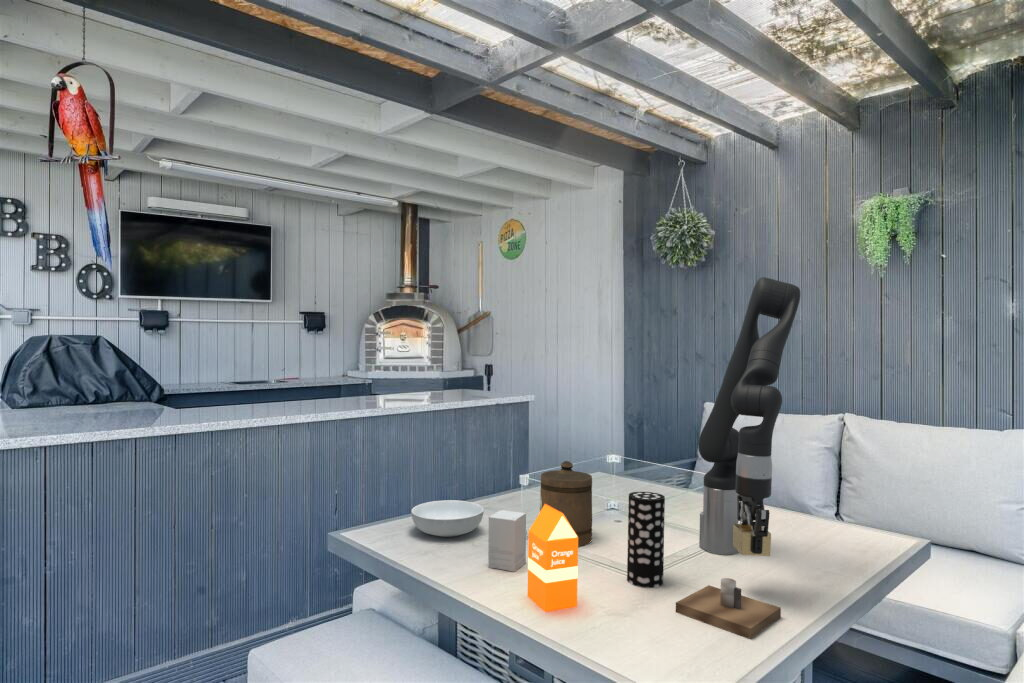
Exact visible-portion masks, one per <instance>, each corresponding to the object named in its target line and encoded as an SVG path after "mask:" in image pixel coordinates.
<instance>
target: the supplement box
mask: <svg viewBox="0 0 1024 683" xmlns="http://www.w3.org/2000/svg"><path fill="white" fill-rule="evenodd" d="M526 545H527V513H525V512H518V511H510V510H503V509H499V510H498V511H496V512H495V513H493V514H491V515H489V516H488V551H487V552H488V560H487V561H488V563H487V564H488V568H490V569H497V570H502V571H508V572H512V573H513V572H516V571H517V570H519V569H520V568H522V566H524V565H525V564H526V561H527V560H526V557H527V555H526V554H527V553H526V552H527V550H526V548H527V546H526Z"/></svg>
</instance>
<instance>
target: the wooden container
mask: <svg viewBox="0 0 1024 683" xmlns="http://www.w3.org/2000/svg"><path fill="white" fill-rule="evenodd" d="M560 467H561V469H559V470H549V471H544V472H542V473H541V474H540V490H539V491H540V496H539V512H540V511H541V510H542V508H543V506H544V505H545V504H547V505H549V506H550V507H552V508H554V509H556V510H558V511H560V512H561V513H563V514H564V516H565V517H566V519H567V521H568V522H569V524H570V525H571V527H572V528H573V530H574V532H575V533H576V535H577V536H578V548H579V547H583V545H584V546H586V545H585V544H587V545H589V544H590V543H591V542H592V541H591V540H593V477H592V475H591V474H589V473H586V472H582V471H577V470H576V471H575V470H573V467H574V465H573V463H572V462H571V461H568V460H567V461H566V460H565V461H562V462H561V464H560ZM590 541H591V542H590ZM589 542H590V543H589ZM588 543H589V544H588Z"/></svg>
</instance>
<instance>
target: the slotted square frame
mask: <svg viewBox="0 0 1024 683" xmlns="http://www.w3.org/2000/svg"><path fill="white" fill-rule="evenodd" d="M759 531H760V527H759ZM751 539H752V535H751V527H750V526H749V525H748V524H740V523H738V524H734V526H733V546H734V547H735V548H736V549H737V550H738V552H739V554H740V555H741V556H757V557H758V556H759V557H761V556H762V557H771V549H772V548H771V546H772V545H771V544H772V533H771V532H770V531H769V530H768V536H767V537H763V544H762V553H761V554H754V553H752V552H751ZM738 552H737V553H738Z"/></svg>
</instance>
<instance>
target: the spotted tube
mask: <svg viewBox="0 0 1024 683" xmlns="http://www.w3.org/2000/svg"><path fill="white" fill-rule="evenodd" d="M665 498H666V497H665V495H663V494H661V493H657V492H653V491H652V492H651V491H632V492H630V493H628V507H627V508H628V510H627V512H628V513H627V514H628V515H627V517H628V519H627V524H628V525H627V555H626V556H627V557H626V559H627V560H626V561H627V562H626V563H627V565H626V569H627V570H626V581H627V582H628V583H629V584H631V585H632V586H636V587H640V588H647V589H650V588H653V589H654V588H658V587H661V586H663V585H664V562H665V561H664V560H665V558H664V557H665V556H664V552H665V550H664V548H665V509H666V507H665V505H666V504H665V502H666V501H665V500H666V499H665Z"/></svg>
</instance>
